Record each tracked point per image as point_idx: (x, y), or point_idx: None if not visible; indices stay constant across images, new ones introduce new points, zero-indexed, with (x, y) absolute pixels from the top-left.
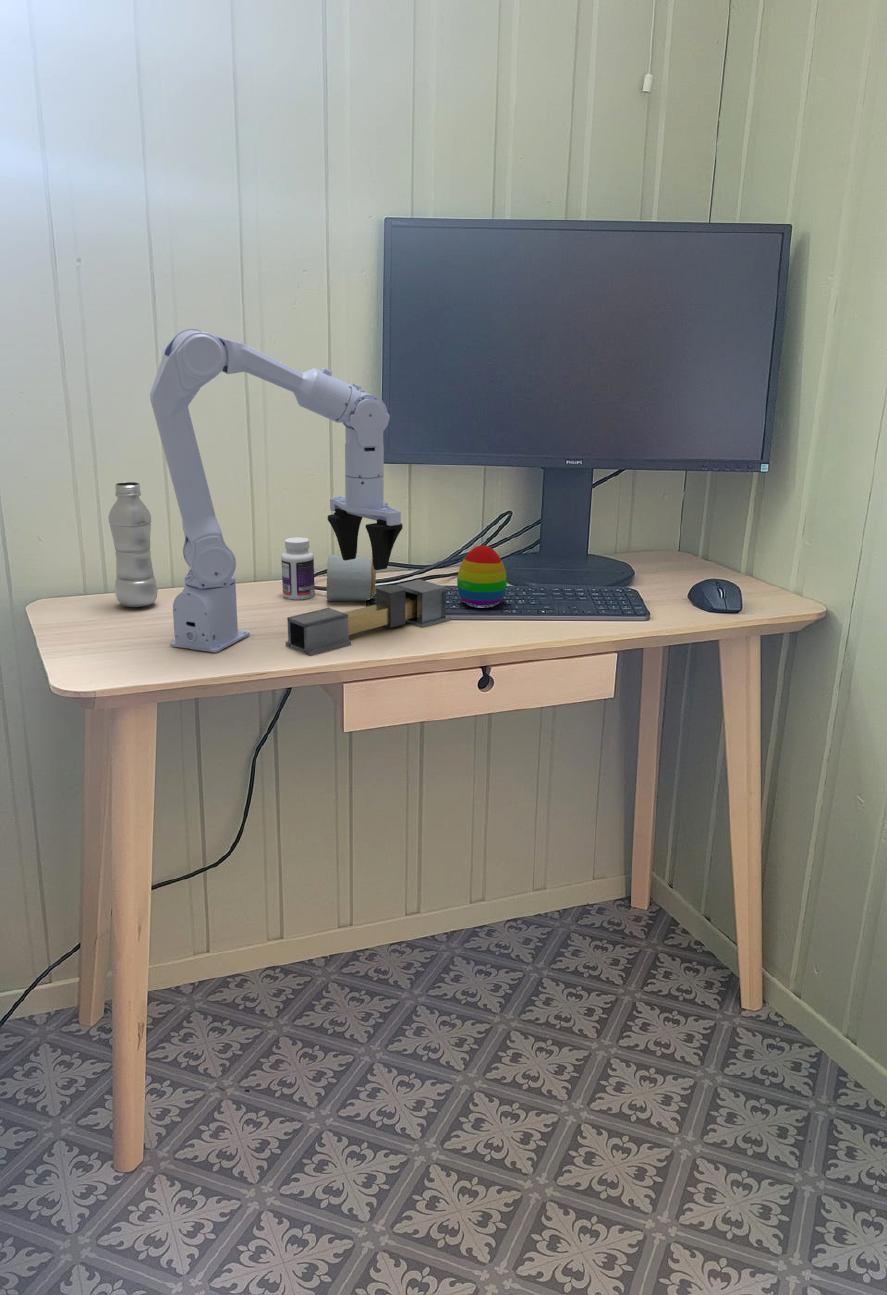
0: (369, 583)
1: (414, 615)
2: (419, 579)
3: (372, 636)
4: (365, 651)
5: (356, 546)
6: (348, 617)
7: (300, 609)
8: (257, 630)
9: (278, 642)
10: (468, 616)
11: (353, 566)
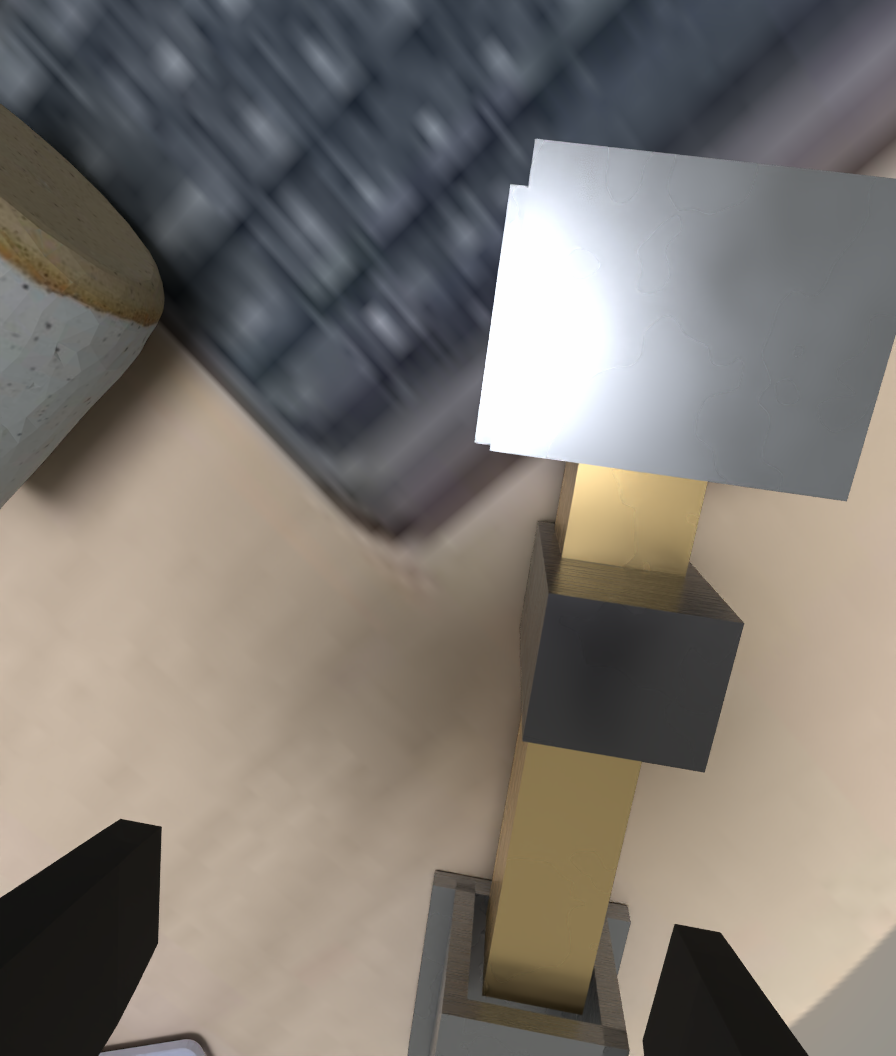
0: (121, 334)
1: None
2: (539, 146)
3: None
4: (742, 933)
5: (64, 923)
6: (585, 975)
7: (17, 648)
8: (160, 973)
9: (350, 1033)
10: (886, 46)
11: None
